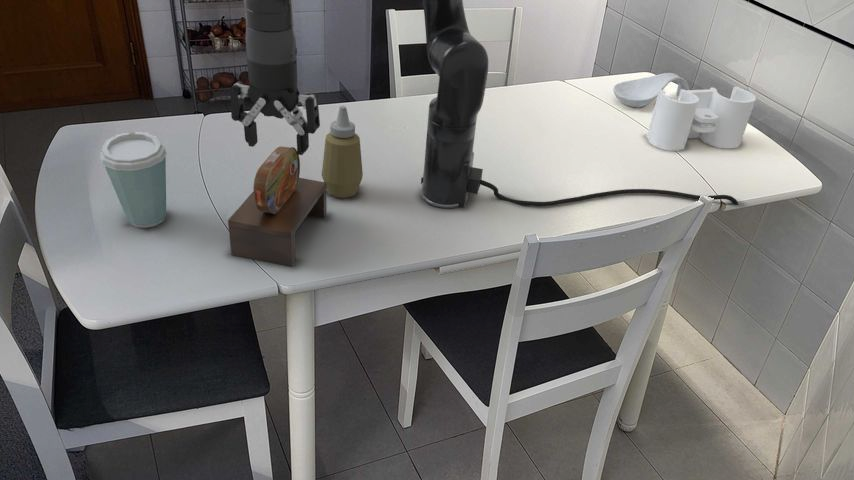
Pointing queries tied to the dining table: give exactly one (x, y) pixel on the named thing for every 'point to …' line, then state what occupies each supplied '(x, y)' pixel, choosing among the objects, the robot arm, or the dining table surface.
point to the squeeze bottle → (342, 157)
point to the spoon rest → (646, 89)
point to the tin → (276, 179)
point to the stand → (275, 224)
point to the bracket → (700, 118)
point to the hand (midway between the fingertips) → (277, 148)
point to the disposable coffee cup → (137, 176)
